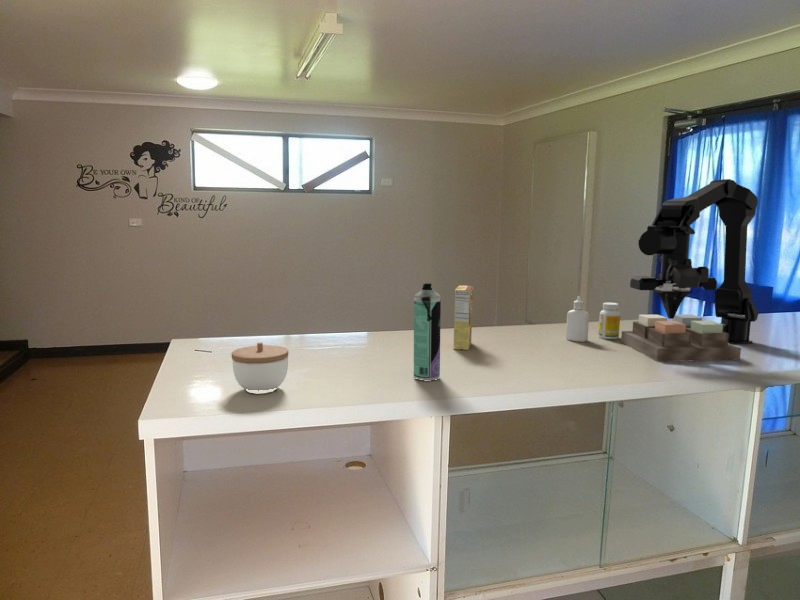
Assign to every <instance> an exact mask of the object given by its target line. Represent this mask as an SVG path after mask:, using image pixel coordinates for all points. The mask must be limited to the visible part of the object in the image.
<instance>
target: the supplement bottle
mask: <svg viewBox="0 0 800 600" xmlns="http://www.w3.org/2000/svg"><path fill="white" fill-rule="evenodd" d="M618 309H619V303H618V302H610V301H609V302H608V301H607V302H603V303H602V310H601V311H599V319H598V321H599V322H598V323H599V324H598V338H601V339H604V340H617V339H619V337H620V325H621V323H620V322H621V312H620V311H619V310H618Z"/></svg>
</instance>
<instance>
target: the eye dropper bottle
mask: <svg viewBox="0 0 800 600" xmlns="http://www.w3.org/2000/svg"><path fill="white" fill-rule="evenodd" d="M589 322H590V315H589V312H588V311H586V310H584V301H583V300H582V299H581V296H579V295H577V298H576V300H574V301H573V309H571V310H569V311H567V314H566V329H565V339H566V340H568V341H572V342H577V343H579V342H580V343H583V342H587V341H588V340H589Z"/></svg>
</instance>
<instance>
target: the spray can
mask: <svg viewBox="0 0 800 600" xmlns="http://www.w3.org/2000/svg"><path fill="white" fill-rule="evenodd" d="M432 286H433V285H432V283H431V282H426V283H422V287H421V289H420V291H418V292H417V293H416V294H414V298H413V378H414V377H415V378H418V379H423V380H435V379H438V378H439V377H440V376H441V374H440V373H441V314H442V313H441V312H442V311H441V306H442V305H441V294H439V293H438V292H436V291H435V289H434V288H433V287H432ZM440 378H441V377H440ZM440 378H439V379H440Z"/></svg>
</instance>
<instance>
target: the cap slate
mask: <svg viewBox="0 0 800 600" xmlns="http://www.w3.org/2000/svg"><path fill="white" fill-rule="evenodd" d="M671 321H677V322H680V323H682V324H685V325H686V326H691V321H703V317H701V316H698V315H695V314H691V313H690V314H689V313H688V314H685V313H684V314H683V313H682V314H677V313H676V314H675V316H674V318H673V319H671Z"/></svg>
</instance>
